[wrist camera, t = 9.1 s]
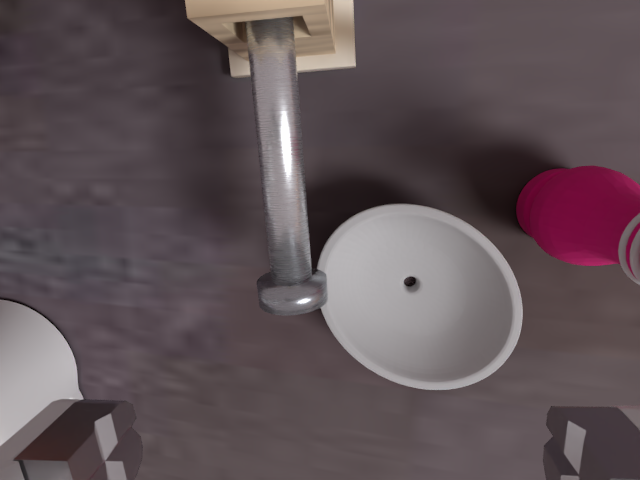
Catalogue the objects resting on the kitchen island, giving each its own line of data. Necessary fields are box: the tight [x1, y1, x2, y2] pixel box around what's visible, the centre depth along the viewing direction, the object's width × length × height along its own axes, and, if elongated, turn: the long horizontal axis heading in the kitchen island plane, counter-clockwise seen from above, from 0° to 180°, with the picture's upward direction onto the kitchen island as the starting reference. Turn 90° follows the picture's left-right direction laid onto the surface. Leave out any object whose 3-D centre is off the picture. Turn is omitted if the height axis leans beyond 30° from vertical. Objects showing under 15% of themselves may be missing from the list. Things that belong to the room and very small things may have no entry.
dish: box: [317, 204, 523, 390], centre depth 33 cm, size 18×14×5 cm
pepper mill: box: [516, 166, 640, 285], centre depth 23 cm, size 7×7×20 cm
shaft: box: [245, 17, 328, 315], centre depth 24 cm, size 25×5×5 cm, turn 4°
